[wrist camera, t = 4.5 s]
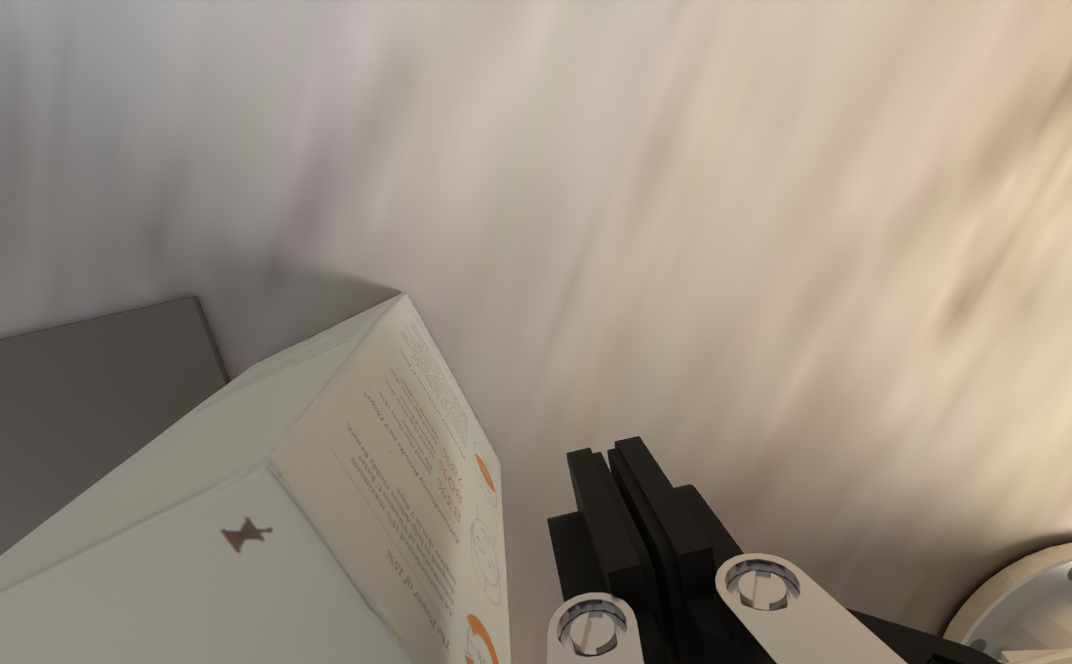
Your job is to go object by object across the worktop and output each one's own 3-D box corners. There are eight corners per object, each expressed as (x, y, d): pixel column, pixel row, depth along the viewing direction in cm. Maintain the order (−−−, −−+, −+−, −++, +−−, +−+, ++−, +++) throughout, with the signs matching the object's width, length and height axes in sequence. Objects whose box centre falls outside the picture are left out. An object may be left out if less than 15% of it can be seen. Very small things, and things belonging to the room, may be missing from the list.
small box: (252, 362, 20) (-158, 654, 7) (407, 287, 20) (269, 448, 7) (364, 532, 22) (202, 990, 9) (504, 465, 22) (534, 837, 9)
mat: (304, 576, 22) (302, 582, 22) (-42, 662, 21) (-49, 668, 21) (196, 295, 19) (191, 297, 19) (-212, 387, 18) (-223, 390, 18)
